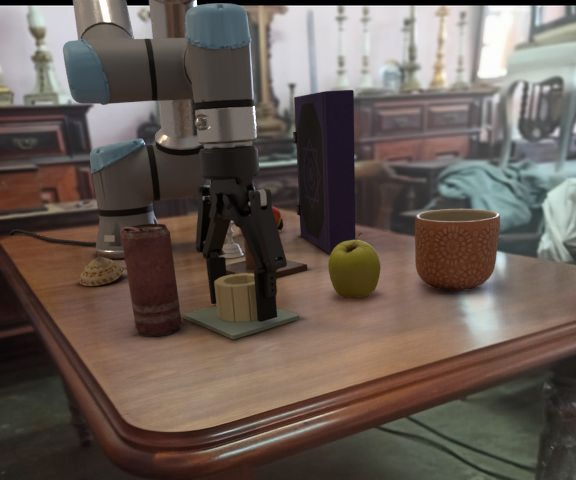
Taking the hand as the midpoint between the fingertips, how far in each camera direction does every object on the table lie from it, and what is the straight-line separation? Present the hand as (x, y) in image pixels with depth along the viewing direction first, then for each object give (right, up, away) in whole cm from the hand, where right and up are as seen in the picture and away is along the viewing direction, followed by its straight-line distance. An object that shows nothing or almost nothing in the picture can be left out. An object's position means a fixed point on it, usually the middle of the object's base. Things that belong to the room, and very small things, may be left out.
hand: (242, 310), depth 83 cm
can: (-11, -3, -2) cm, 12 cm away
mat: (0, -1, 0) cm, 1 cm away
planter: (+32, +4, +10) cm, 34 cm away
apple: (+17, +3, +8) cm, 18 cm away
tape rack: (+1, +9, +25) cm, 27 cm away
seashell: (-28, +7, +26) cm, 38 cm away
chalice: (-5, +14, +40) cm, 42 cm away
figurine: (-2, +22, +60) cm, 64 cm away
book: (+15, +18, +46) cm, 51 cm away
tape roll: (0, 0, 0) cm, 1 cm away
